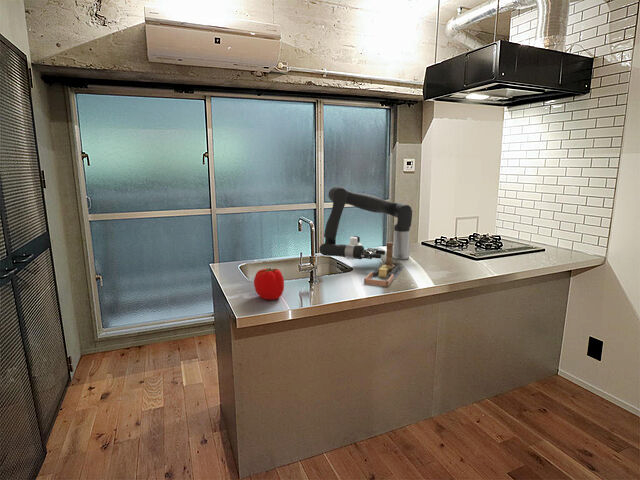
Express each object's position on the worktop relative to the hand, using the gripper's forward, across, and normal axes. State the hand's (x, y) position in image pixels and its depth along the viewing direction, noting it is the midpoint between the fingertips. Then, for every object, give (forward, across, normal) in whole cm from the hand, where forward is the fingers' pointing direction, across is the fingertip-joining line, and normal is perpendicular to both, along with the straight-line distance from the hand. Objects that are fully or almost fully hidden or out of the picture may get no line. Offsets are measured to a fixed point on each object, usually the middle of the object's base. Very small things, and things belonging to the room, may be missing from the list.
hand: (382, 254), depth 209 cm
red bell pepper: (-36, -60, +9) cm, 70 cm away
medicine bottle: (-24, +26, +9) cm, 37 cm away
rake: (+4, 0, +8) cm, 9 cm away
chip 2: (+4, -8, +8) cm, 12 cm away
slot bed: (+4, -4, +9) cm, 11 cm away
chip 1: (+4, -12, +8) cm, 15 cm away
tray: (+4, -21, +9) cm, 23 cm away
